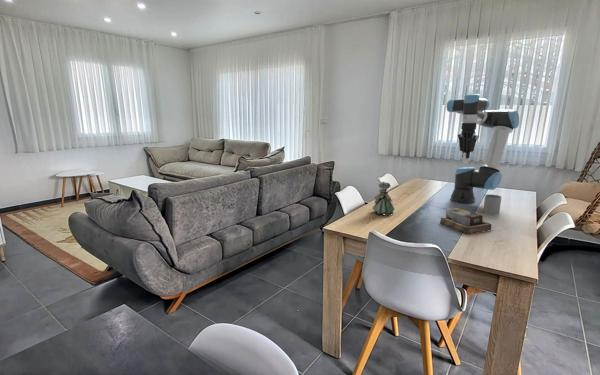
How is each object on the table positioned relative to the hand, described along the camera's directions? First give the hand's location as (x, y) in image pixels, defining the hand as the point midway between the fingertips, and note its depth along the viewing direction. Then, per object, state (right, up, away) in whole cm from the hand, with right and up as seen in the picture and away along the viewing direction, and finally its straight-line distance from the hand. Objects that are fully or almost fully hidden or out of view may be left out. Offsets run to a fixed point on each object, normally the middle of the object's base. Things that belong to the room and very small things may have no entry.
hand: (465, 163), depth 185 cm
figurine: (-46, -30, +10) cm, 56 cm away
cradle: (-8, -35, -16) cm, 39 cm away
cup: (+20, -29, +8) cm, 36 cm away
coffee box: (-12, -29, -7) cm, 32 cm away
